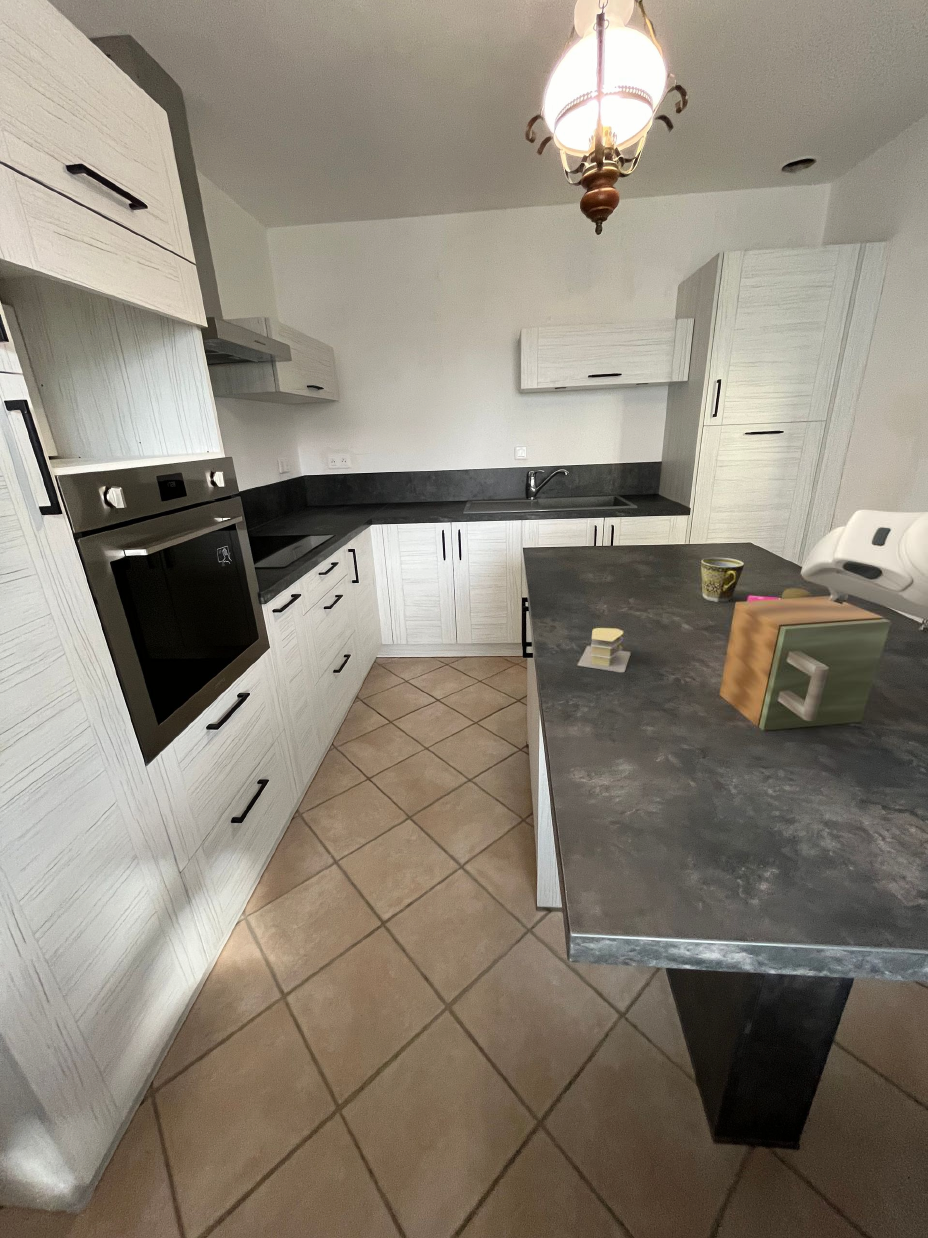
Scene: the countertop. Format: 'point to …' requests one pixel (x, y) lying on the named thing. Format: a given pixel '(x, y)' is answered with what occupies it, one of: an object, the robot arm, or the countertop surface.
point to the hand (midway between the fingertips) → (880, 612)
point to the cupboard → (770, 643)
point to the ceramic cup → (720, 578)
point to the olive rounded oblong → (795, 593)
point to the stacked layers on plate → (605, 651)
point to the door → (822, 673)
